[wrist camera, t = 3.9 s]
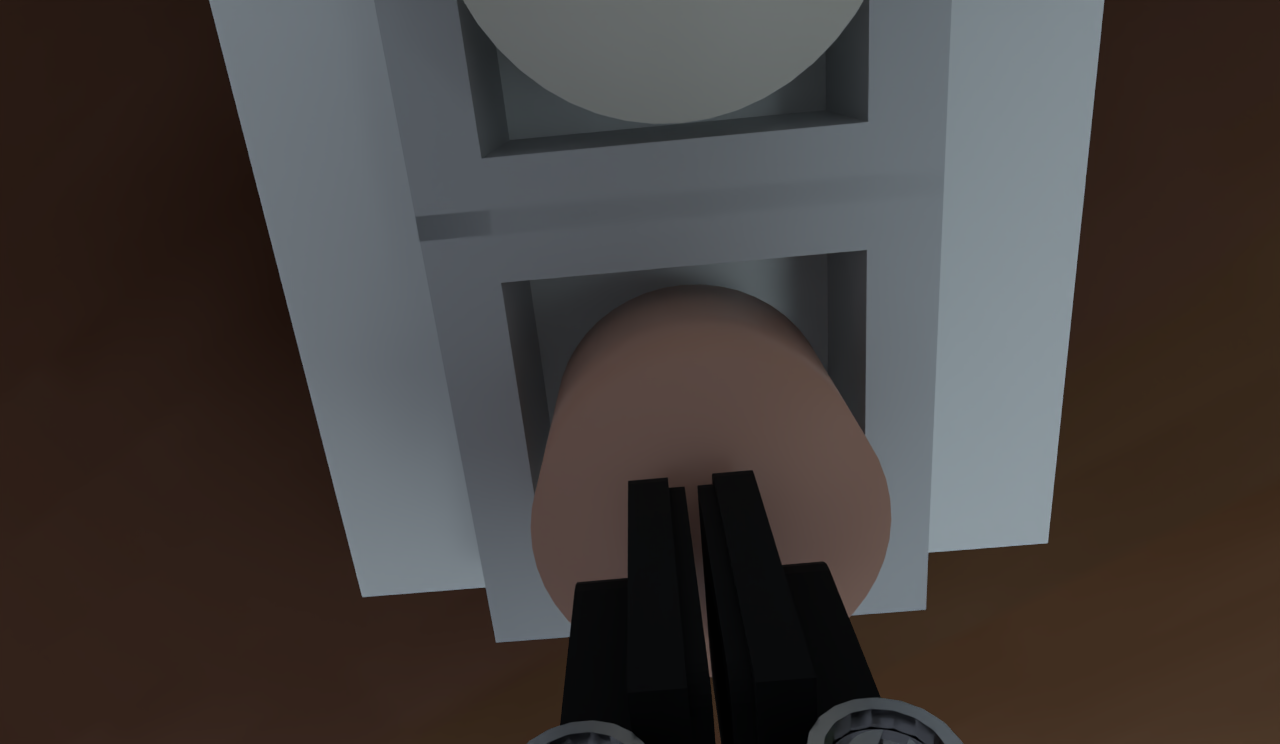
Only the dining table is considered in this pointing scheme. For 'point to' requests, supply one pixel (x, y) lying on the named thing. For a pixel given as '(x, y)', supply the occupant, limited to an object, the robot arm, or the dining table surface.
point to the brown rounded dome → (705, 440)
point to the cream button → (662, 50)
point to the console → (667, 260)
